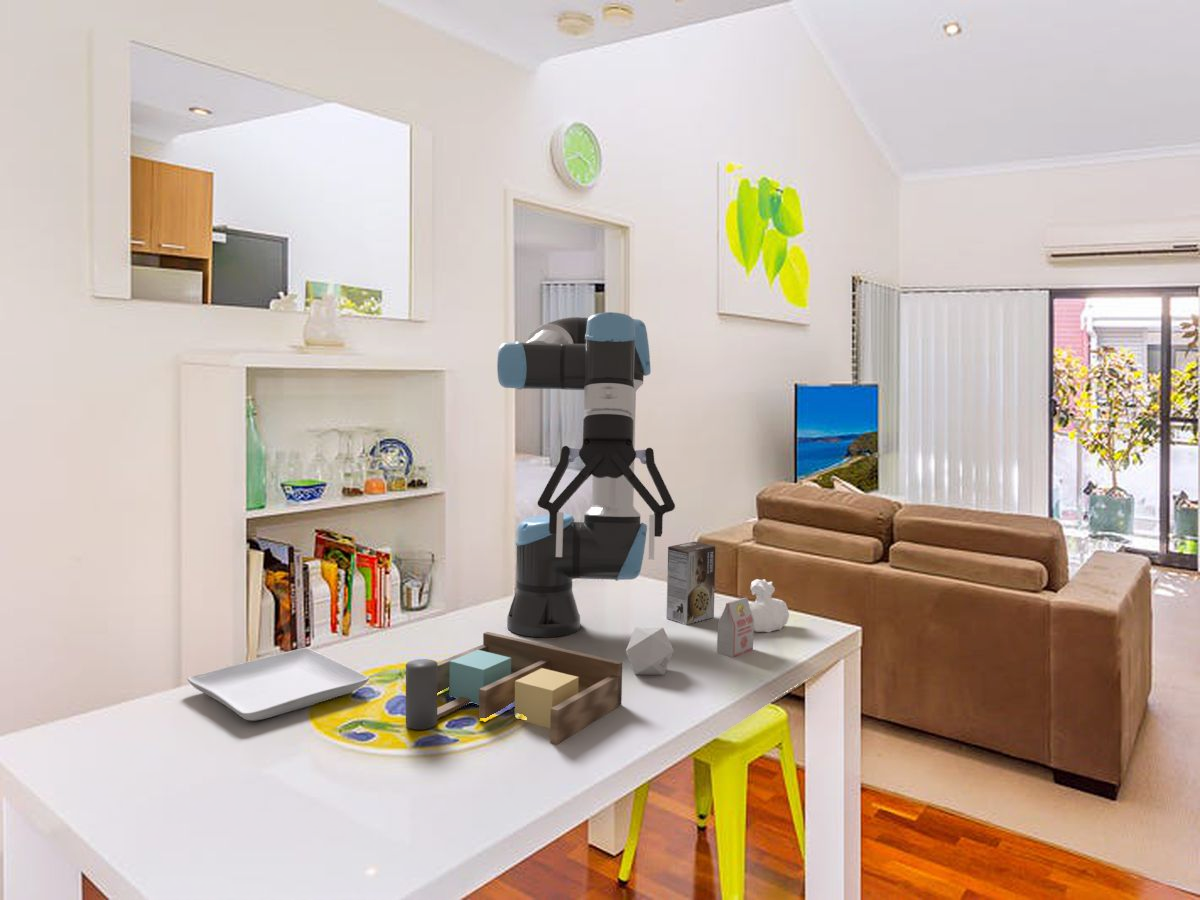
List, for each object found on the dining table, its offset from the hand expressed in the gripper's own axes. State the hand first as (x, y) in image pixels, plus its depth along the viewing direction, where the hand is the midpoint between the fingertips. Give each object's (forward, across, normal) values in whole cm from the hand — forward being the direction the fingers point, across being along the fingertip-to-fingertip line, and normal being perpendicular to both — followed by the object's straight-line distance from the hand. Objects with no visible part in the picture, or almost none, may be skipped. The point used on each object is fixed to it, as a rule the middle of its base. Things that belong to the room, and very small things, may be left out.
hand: (605, 558), depth 126 cm
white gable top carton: (+17, +24, +42) cm, 52 cm away
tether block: (+24, -23, +10) cm, 35 cm away
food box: (+13, +17, +64) cm, 67 cm away
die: (+20, +8, +29) cm, 36 cm away
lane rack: (+23, -14, +13) cm, 30 cm away
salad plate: (+24, -53, +14) cm, 59 cm away
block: (+24, -9, +9) cm, 27 cm away
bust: (+14, +33, +58) cm, 68 cm away
